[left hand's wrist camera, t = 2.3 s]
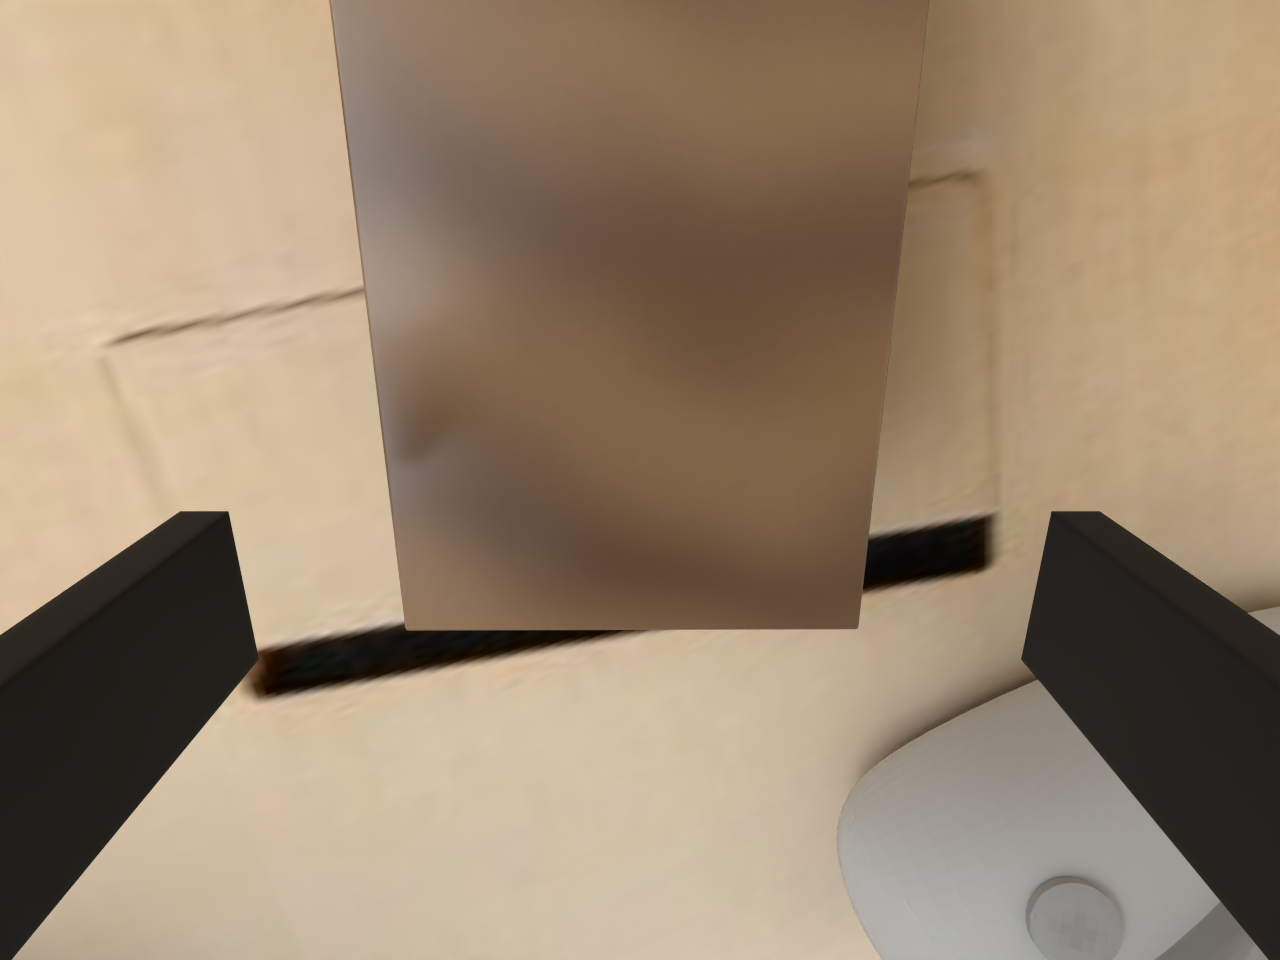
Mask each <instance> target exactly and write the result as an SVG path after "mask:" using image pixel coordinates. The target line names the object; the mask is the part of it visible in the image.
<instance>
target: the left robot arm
mask: <svg viewBox="0 0 1280 960" xmlns="http://www.w3.org/2000/svg"><path fill="white" fill-rule="evenodd" d="M258 659H259V658H258V653H257V649H256V644H255V639H254V634H253V629H252V624H251V619H250V614H249V610H248V605H247V600H246V595H245V590H244V585H243V580H242V576H241V571H240V566H239V561H238V556H237V551H236V546H235V541H234V537H233V532H232V527H231V522H230V517H229V512H228V511H180V512H179V513H177V514H176V515H174V516H173V517H172V518H170V519H169V520H167V521H166V522H164V523H163V524H161V525H160V526H158V527H157V528H156V529H154V530H153V531H151V532H150V533H148V534H147V535H145V536H144V537H142V538H141V539H139V540H138V541H137V542H135V543H134V544H132V545H131V546H129V547H128V548H126V549H125V550H123V551H122V552H121V553H119V554H118V555H116V556H115V557H113V558H112V559H110V560H109V561H107V562H106V563H105V564H103V565H102V566H100V567H99V568H97V569H96V570H94V571H93V572H91V573H90V574H89V575H87V576H86V577H84V578H83V579H81V580H80V581H78V582H77V583H75V584H74V585H73V586H71V587H70V588H68V589H67V590H65V591H64V592H62V593H61V594H59V595H58V596H57V597H55V598H54V599H52V600H51V601H49V602H48V603H46V604H45V605H43V606H42V607H41V608H39V609H38V610H36V611H35V612H33V613H32V614H30V615H29V616H27V617H26V618H25V619H23V620H22V621H20V622H19V623H17V624H16V625H14V626H13V627H11V628H10V629H9V630H7V631H6V632H4V633H3V634H1V635H0V960H12V959H13V957H14V956H15V955H16V954H17V952H18V951H19V950H20V949H21V948H22V946H23V945H24V944H25V943H26V942H27V940H28V939H29V938H30V937H31V935H32V934H33V933H34V932H35V931H36V929H37V928H38V927H39V926H40V924H41V923H42V922H43V921H44V920H45V918H46V917H47V916H48V915H49V914H50V912H51V911H52V910H53V909H54V907H55V906H56V905H57V904H58V903H59V901H60V900H61V899H62V898H63V897H64V895H65V894H66V893H67V892H68V890H69V889H70V888H71V887H72V886H73V884H74V883H75V882H76V881H77V880H78V878H79V877H80V876H81V875H82V873H83V872H84V871H85V870H86V869H87V867H88V866H89V865H90V864H91V862H92V861H93V860H94V859H95V858H96V856H97V855H98V854H99V853H100V852H101V850H102V849H103V848H104V847H105V845H106V844H107V843H108V842H109V841H110V839H111V838H112V837H113V836H114V835H115V833H116V832H117V831H118V830H119V828H120V827H121V826H122V825H123V824H124V822H125V821H126V820H127V819H128V817H129V816H130V815H131V814H132V813H133V811H134V810H135V809H136V808H137V807H138V805H139V804H140V803H141V802H142V800H143V799H144V798H145V797H146V796H147V794H148V793H149V792H150V791H151V790H152V788H153V787H154V786H155V785H156V783H157V782H158V781H159V780H160V779H161V777H162V776H163V775H164V774H165V773H166V771H167V770H168V769H169V768H170V766H171V765H172V764H173V763H174V762H175V760H176V759H177V758H178V757H179V755H180V754H181V753H182V752H183V751H184V749H185V748H186V747H187V746H188V745H189V743H190V742H191V741H192V740H193V738H194V737H195V736H196V735H197V734H198V732H199V731H200V730H201V729H202V728H203V726H204V725H205V724H206V723H207V721H208V720H209V719H210V718H211V717H212V715H213V714H214V713H215V712H216V710H217V709H218V708H219V707H220V706H221V704H222V703H223V702H224V701H225V700H226V698H227V697H228V696H229V695H230V693H231V692H232V691H233V690H234V689H235V687H236V686H237V685H238V684H239V683H240V681H241V680H242V679H243V678H244V676H245V675H246V674H247V673H248V672H249V670H250V669H251V668H252V667H253V665H254V664H255V663H256V662H257V661H258ZM1021 659H1022V661H1023V662H1024V663H1025V664H1026V665H1027V667H1028V668H1029V669H1030V670H1031V672H1032V673H1033V674H1034V675H1035V676H1036V678H1037V679H1038V680H1039V681H1040V683H1041V684H1042V685H1043V686H1044V687H1045V689H1046V690H1047V691H1048V692H1049V693H1050V695H1051V696H1052V697H1053V698H1054V700H1055V701H1056V702H1057V703H1058V704H1059V706H1060V707H1061V708H1062V709H1063V710H1064V712H1065V713H1066V714H1067V715H1068V717H1069V718H1070V719H1071V720H1072V721H1073V723H1074V724H1075V725H1076V726H1077V728H1078V729H1079V730H1080V731H1081V732H1082V734H1083V735H1084V736H1085V737H1086V738H1087V740H1088V741H1089V742H1090V743H1091V745H1092V746H1093V747H1094V748H1095V749H1096V751H1097V752H1098V753H1099V754H1100V755H1101V757H1102V758H1103V759H1104V760H1105V762H1106V763H1107V764H1108V765H1109V766H1110V768H1111V769H1112V770H1113V771H1114V773H1115V774H1116V775H1117V776H1118V777H1119V779H1120V780H1121V781H1122V782H1123V783H1124V785H1125V786H1126V787H1127V788H1128V790H1129V791H1130V792H1131V793H1132V794H1133V796H1134V797H1135V798H1136V799H1137V800H1138V802H1139V803H1140V804H1141V805H1142V807H1143V808H1144V809H1145V810H1146V811H1147V813H1148V814H1149V815H1150V816H1151V817H1152V819H1153V820H1154V821H1155V822H1156V824H1157V825H1158V826H1159V827H1160V828H1161V830H1162V831H1163V832H1164V833H1165V835H1166V836H1167V837H1168V838H1169V839H1170V841H1171V842H1172V843H1173V844H1174V845H1175V847H1176V848H1177V849H1178V850H1179V852H1180V853H1181V854H1182V855H1183V856H1184V858H1185V859H1186V860H1187V861H1188V862H1189V864H1190V865H1191V866H1192V867H1193V869H1194V870H1195V871H1196V872H1197V873H1198V875H1199V876H1200V877H1201V878H1202V880H1203V881H1204V882H1205V883H1206V884H1207V886H1208V887H1209V888H1210V889H1211V890H1212V892H1213V893H1214V894H1215V895H1216V897H1217V898H1218V899H1219V900H1220V901H1221V903H1222V904H1223V905H1224V906H1225V907H1226V909H1227V910H1228V911H1229V912H1230V914H1231V915H1232V916H1233V917H1234V918H1235V920H1236V921H1237V922H1238V923H1239V924H1240V926H1241V927H1242V928H1243V929H1244V931H1245V932H1246V933H1247V934H1248V935H1249V937H1250V938H1251V939H1252V940H1253V942H1254V943H1255V944H1256V945H1257V946H1258V948H1259V949H1260V950H1261V951H1262V952H1263V954H1264V955H1265V956H1266V957H1267V959H1268V960H1280V635H1279V634H1277V633H1276V632H1274V631H1273V630H1271V629H1270V628H1269V627H1267V626H1266V625H1264V624H1263V623H1261V622H1260V621H1258V620H1257V619H1255V618H1254V617H1253V616H1251V615H1250V614H1248V613H1247V612H1245V611H1244V610H1242V609H1241V608H1239V607H1238V606H1237V605H1235V604H1234V603H1232V602H1231V601H1229V600H1228V599H1226V598H1225V597H1223V596H1222V595H1221V594H1219V593H1218V592H1216V591H1215V590H1213V589H1212V588H1210V587H1209V586H1207V585H1206V584H1205V583H1203V582H1202V581H1200V580H1199V579H1197V578H1196V577H1194V576H1193V575H1191V574H1190V573H1189V572H1187V571H1186V570H1184V569H1183V568H1181V567H1180V566H1178V565H1177V564H1175V563H1174V562H1173V561H1171V560H1170V559H1168V558H1167V557H1165V556H1164V555H1162V554H1161V553H1159V552H1158V551H1157V550H1155V549H1154V548H1152V547H1151V546H1149V545H1148V544H1146V543H1145V542H1143V541H1142V540H1141V539H1139V538H1138V537H1136V536H1135V535H1133V534H1132V533H1130V532H1129V531H1127V530H1126V529H1124V528H1123V527H1122V526H1120V525H1119V524H1117V523H1116V522H1114V521H1113V520H1111V519H1110V518H1108V517H1107V516H1106V515H1104V514H1103V513H1101V512H1100V511H1052V512H1051V517H1050V522H1049V527H1048V532H1047V537H1046V541H1045V546H1044V551H1043V556H1042V561H1041V566H1040V571H1039V576H1038V580H1037V585H1036V590H1035V595H1034V600H1033V605H1032V610H1031V614H1030V619H1029V624H1028V629H1027V634H1026V639H1025V644H1024V649H1023V653H1022V658H1021Z"/></svg>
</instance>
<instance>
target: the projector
mask: <svg viewBox="0 0 1280 960" xmlns="http://www.w3.org/2000/svg"><path fill="white" fill-rule="evenodd" d="M1248 614H1250V615H1251V616H1253V617H1254V618H1255V619H1257V620H1258V621H1260V622H1261V623H1263V624H1264V625H1266V626H1267V627H1269V628H1270V629H1271V630H1273V631H1274V632H1276V633H1277V634H1279V635H1280V606H1279V607H1274V608H1269V609H1263V610H1258V611H1253V612H1249V613H1248ZM837 850H838V857H839V863H840V867H841V871H842V875H843V879H844V882H845V886H846V889H847V892H848V895H849V898H850V900H851V903H852V905H853V908H854V910H855V912H856V914H857V917H858V919H859V921H860V923H861V925H862V927H863V929H864V931H865V932H866V934H867V936H868V938H869V939H870V941H871V943H872V944H873V946H874V948H875V950H876V951H877V953H878V954H879V956H880V957H881V959H882V960H1268V959H1267V957H1266V956H1265V955H1264V954H1263V952H1262V951H1261V950H1260V949H1259V948H1258V946H1257V945H1256V944H1255V943H1254V942H1253V940H1252V939H1251V938H1250V937H1249V935H1248V934H1247V933H1246V932H1245V931H1244V929H1243V928H1242V927H1241V926H1240V924H1239V923H1238V922H1237V921H1236V920H1235V918H1234V917H1233V916H1232V915H1231V914H1230V912H1229V911H1228V910H1227V909H1226V907H1225V906H1224V905H1223V904H1222V903H1221V901H1220V900H1219V899H1218V898H1217V897H1216V895H1215V894H1214V893H1213V892H1212V890H1211V889H1210V888H1209V887H1208V886H1207V884H1206V883H1205V882H1204V881H1203V880H1202V878H1201V877H1200V876H1199V875H1198V873H1197V872H1196V871H1195V870H1194V869H1193V867H1192V866H1191V865H1190V864H1189V862H1188V861H1187V860H1186V859H1185V858H1184V856H1183V855H1182V854H1181V853H1180V852H1179V850H1178V849H1177V848H1176V847H1175V845H1174V844H1173V843H1172V842H1171V841H1170V839H1169V838H1168V837H1167V836H1166V835H1165V833H1164V832H1163V831H1162V830H1161V828H1160V827H1159V826H1158V825H1157V824H1156V822H1155V821H1154V820H1153V819H1152V817H1151V816H1150V815H1149V814H1148V813H1147V811H1146V810H1145V809H1144V808H1143V807H1142V805H1141V804H1140V803H1139V802H1138V800H1137V799H1136V798H1135V797H1134V796H1133V794H1132V793H1131V792H1130V791H1129V790H1128V788H1127V787H1126V786H1125V785H1124V783H1123V782H1122V781H1121V780H1120V779H1119V777H1118V776H1117V775H1116V774H1115V773H1114V771H1113V770H1112V769H1111V768H1110V766H1109V765H1108V764H1107V763H1106V762H1105V760H1104V759H1103V758H1102V757H1101V755H1100V754H1099V753H1098V752H1097V751H1096V749H1095V748H1094V747H1093V746H1092V745H1091V743H1090V742H1089V741H1088V740H1087V738H1086V737H1085V736H1084V735H1083V734H1082V732H1081V731H1080V730H1079V729H1078V728H1077V726H1076V725H1075V724H1074V723H1073V721H1072V720H1071V719H1070V718H1069V717H1068V715H1067V714H1066V713H1065V712H1064V710H1063V709H1062V708H1061V707H1060V706H1059V704H1058V703H1057V702H1056V701H1055V700H1054V698H1053V697H1052V696H1051V695H1050V693H1049V692H1048V691H1047V690H1046V689H1045V687H1044V686H1043V685H1042V684H1041V683H1040V681H1039V680H1036V681H1033V682H1031V683H1029V684H1026V685H1024V686H1022V687H1019V688H1017V689H1015V690H1012V691H1010V692H1008V693H1006V694H1003V695H1001V696H999V697H997V698H995V699H993V700H990V701H988V702H986V703H984V704H982V705H980V706H978V707H976V708H973V709H971V710H969V711H967V712H965V713H963V714H961V715H959V716H957V717H955V718H953V719H951V720H949V721H947V722H945V723H943V724H942V725H940V726H938V727H936V728H934V729H932V730H930V731H928V732H927V733H925V734H923V735H921V736H919V737H918V738H916V739H914V740H912V741H911V742H909V743H907V744H905V745H904V746H902V747H901V748H899V749H898V750H896V751H895V752H893V753H892V754H890V755H889V756H887V757H886V758H884V759H883V760H882V761H880V762H879V763H878V764H877V765H875V766H874V767H873V768H872V769H870V770H869V771H868V772H867V773H866V774H865V775H864V776H863V777H862V778H861V779H860V780H859V781H858V782H857V784H856V785H855V786H854V788H853V789H852V790H851V792H850V794H849V796H848V798H847V800H846V801H845V803H844V805H843V808H842V811H841V815H840V818H839V823H838V831H837Z"/></svg>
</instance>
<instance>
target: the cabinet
mask: <svg viewBox="0 0 1280 960" xmlns="http://www.w3.org/2000/svg"><path fill="white" fill-rule="evenodd" d="M329 1H330V9H331V18H332V26H333V34H334V42H335V51H336V59H337V67H338V75H339V83H340V92H341V100H342V108H343V116H344V125H345V133H346V141H347V149H348V158H349V166H350V174H351V182H352V191H353V199H354V207H355V215H356V224H357V232H358V240H359V248H360V257H361V265H362V273H363V281H364V290H365V298H366V306H367V314H368V323H369V331H370V339H371V347H372V356H373V364H374V372H375V380H376V389H377V397H378V405H379V413H380V422H381V430H382V438H383V446H384V455H385V463H386V471H387V479H388V488H389V496H390V504H391V512H392V521H393V529H394V537H395V545H396V554H397V562H398V570H399V578H400V587H401V595H402V603H403V611H404V620H405V627H406V630H701V629H857V628H858V625H859V616H860V607H861V598H862V589H863V580H864V572H865V563H866V554H867V545H868V536H869V527H870V519H871V510H872V501H873V492H874V483H875V474H876V466H877V457H878V448H879V439H880V430H881V422H882V413H883V404H884V395H885V386H886V377H887V369H888V360H889V351H890V342H891V333H892V324H893V316H894V307H895V298H896V289H897V280H898V271H899V263H900V254H901V245H902V236H903V227H904V219H905V210H906V201H907V192H908V183H909V174H910V166H911V157H912V148H913V139H914V130H915V121H916V113H917V104H918V95H919V86H920V77H921V68H922V60H923V51H924V42H925V33H926V24H927V15H928V7H929V0H329Z"/></svg>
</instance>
